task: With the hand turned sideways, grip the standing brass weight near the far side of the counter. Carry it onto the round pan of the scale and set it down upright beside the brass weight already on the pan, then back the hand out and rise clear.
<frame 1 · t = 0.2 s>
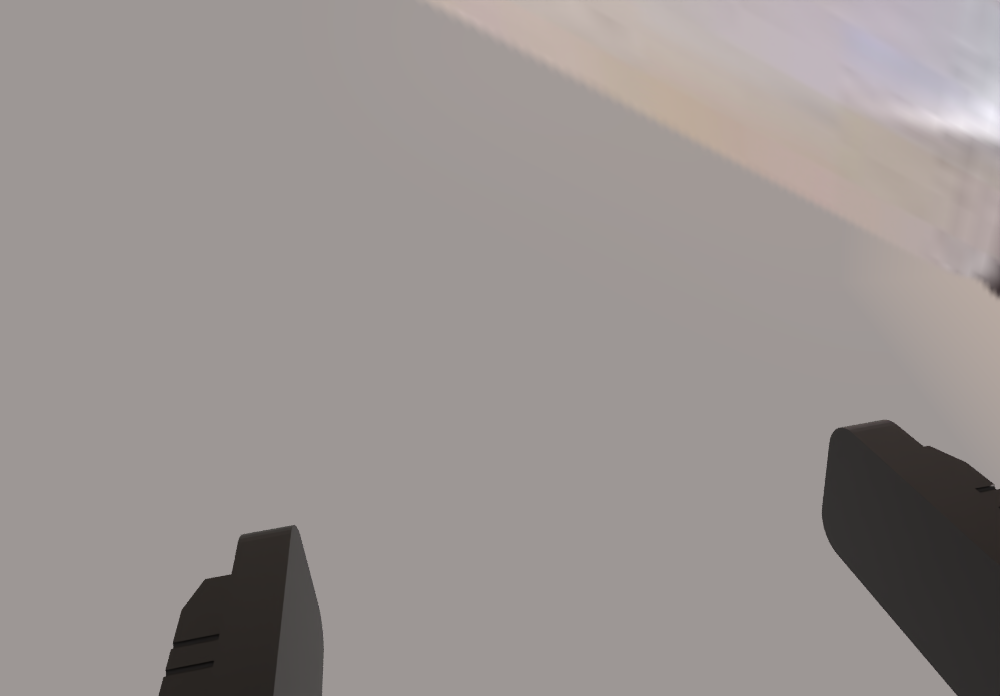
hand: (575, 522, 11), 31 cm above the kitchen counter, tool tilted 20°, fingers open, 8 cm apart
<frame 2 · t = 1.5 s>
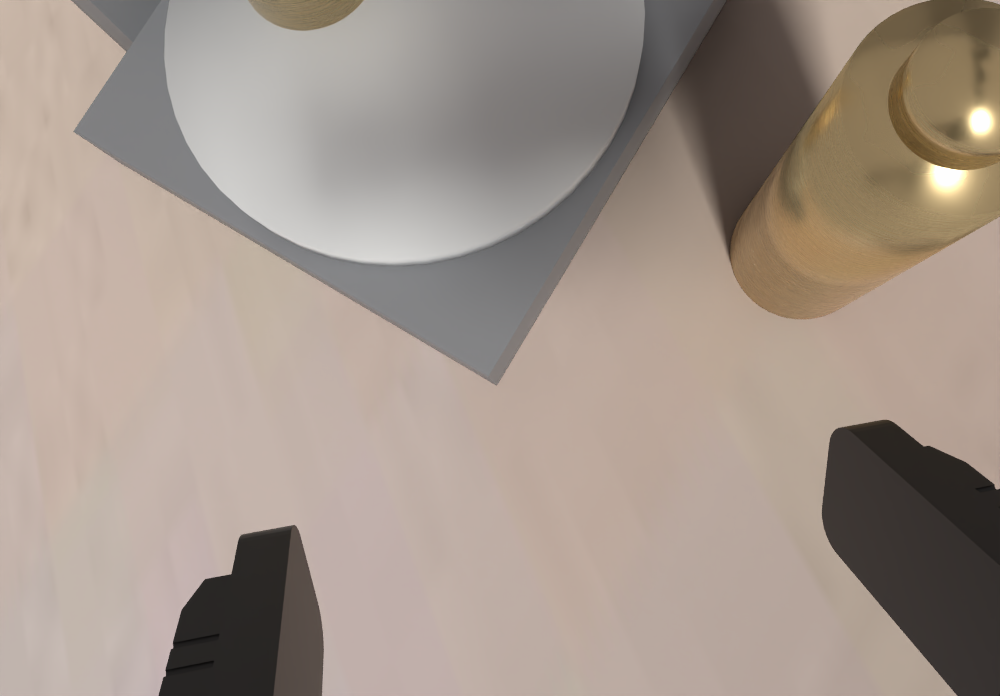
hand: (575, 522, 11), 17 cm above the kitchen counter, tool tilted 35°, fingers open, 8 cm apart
scale: (419, 78, 31), on the kitchen counter
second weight: (799, 252, 29), on the kitchen counter
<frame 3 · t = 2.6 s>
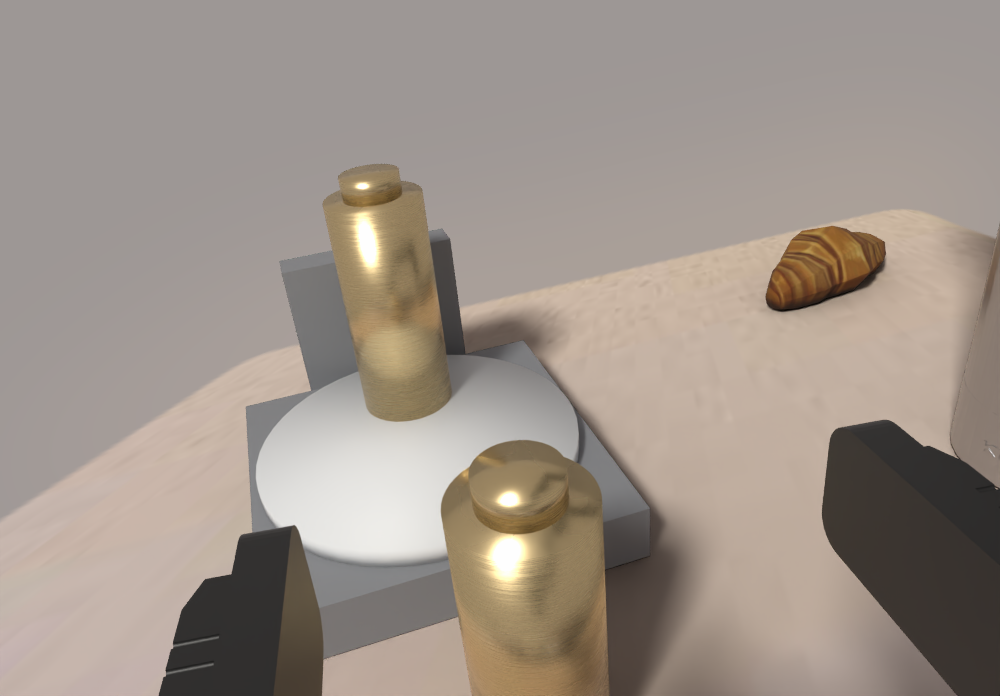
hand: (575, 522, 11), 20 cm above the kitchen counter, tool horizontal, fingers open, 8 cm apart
scale: (428, 493, 43), on the kitchen counter
croissant: (824, 288, 61), on the kitchen counter
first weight: (408, 396, 45), point 4 cm above the kitchen counter, touching scale
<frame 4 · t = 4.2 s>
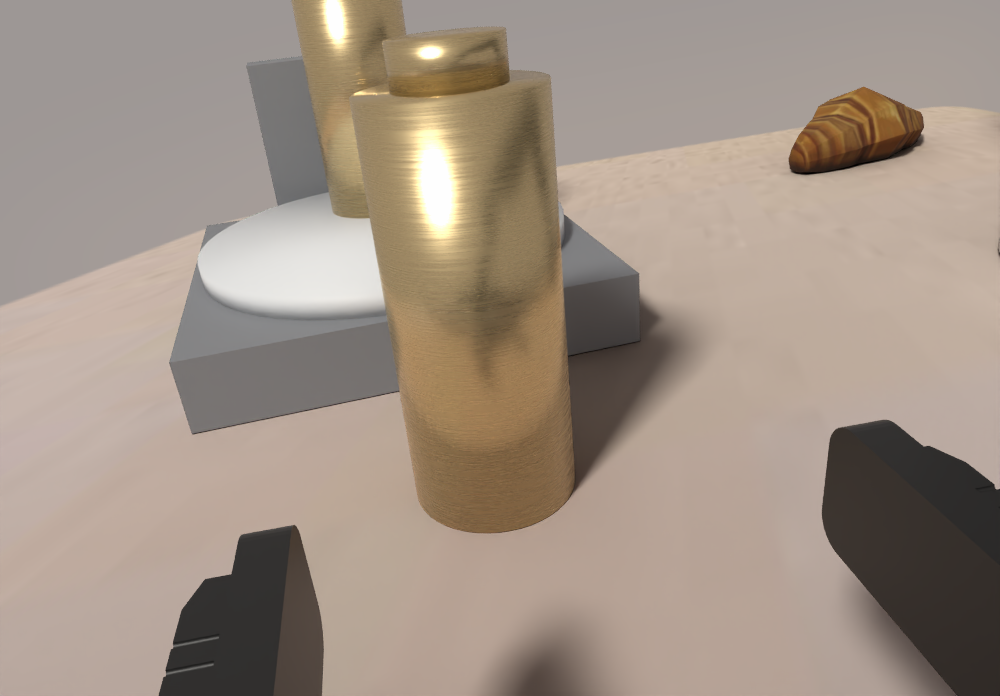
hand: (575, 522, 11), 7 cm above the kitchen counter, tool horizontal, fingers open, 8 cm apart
scale: (396, 303, 39), on the kitchen counter
croissant: (855, 162, 56), on the kitchen counter
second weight: (495, 480, 25), on the kitchen counter
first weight: (380, 203, 40), point 4 cm above the kitchen counter, touching scale
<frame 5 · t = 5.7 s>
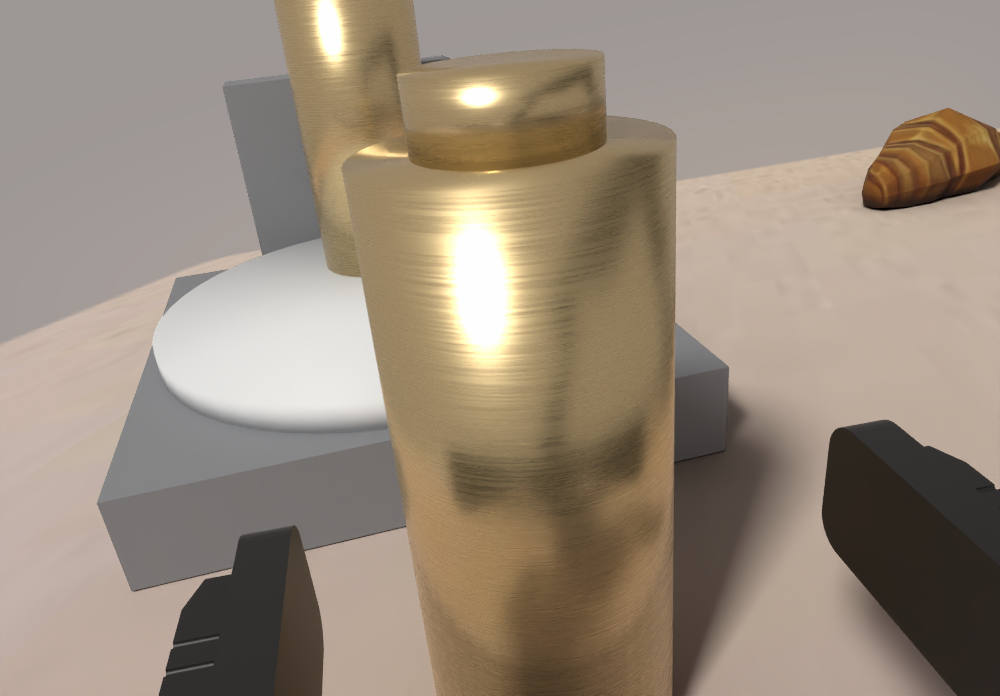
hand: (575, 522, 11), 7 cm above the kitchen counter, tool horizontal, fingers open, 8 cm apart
scale: (406, 381, 31), on the kitchen counter
croissant: (934, 194, 48), on the kitchen counter
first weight: (386, 255, 33), point 4 cm above the kitchen counter, touching scale
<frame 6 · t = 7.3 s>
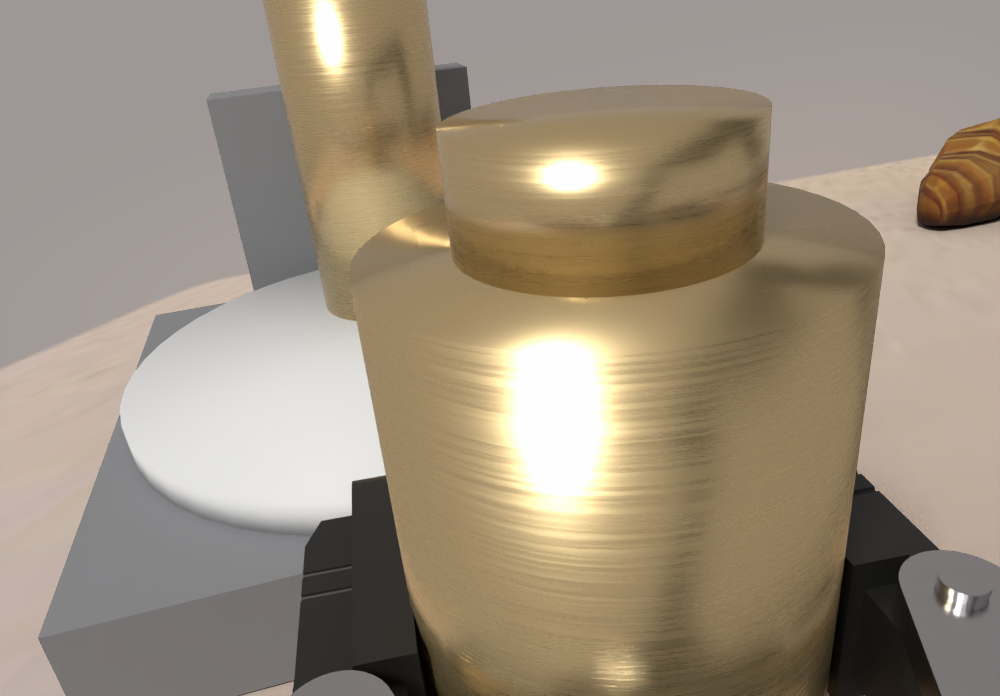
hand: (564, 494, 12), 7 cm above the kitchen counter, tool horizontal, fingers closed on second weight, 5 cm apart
scale: (417, 442, 27), on the kitchen counter
croissant: (992, 209, 44), on the kitchen counter
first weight: (394, 293, 29), point 4 cm above the kitchen counter, touching scale
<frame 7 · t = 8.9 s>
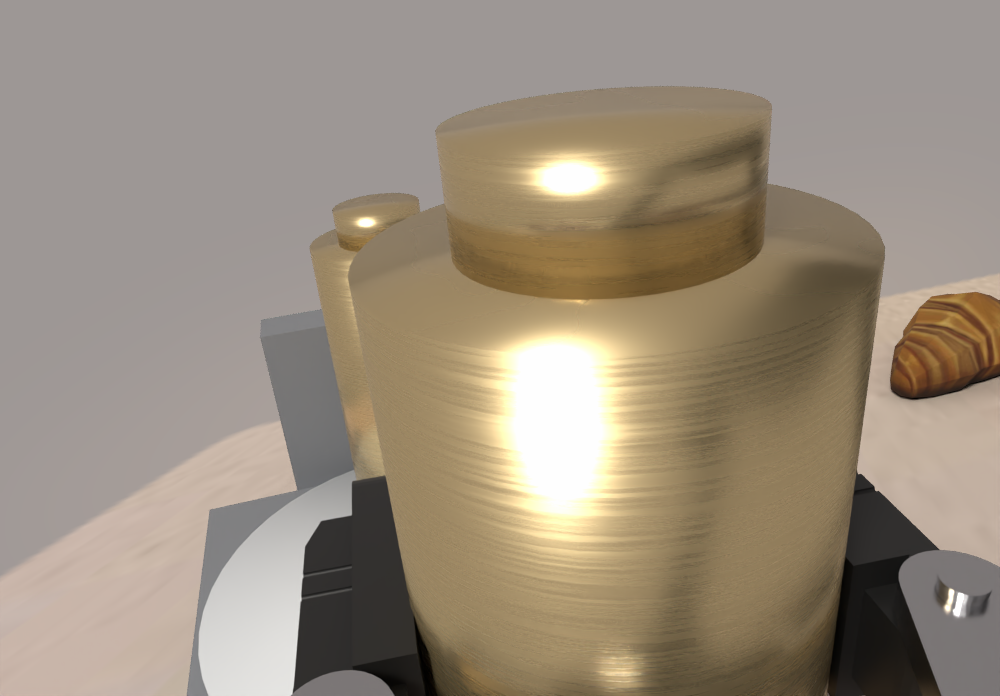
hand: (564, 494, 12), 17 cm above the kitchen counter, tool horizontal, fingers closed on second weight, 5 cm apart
scale: (445, 651, 31), on the kitchen counter
croissant: (960, 369, 48), on the kitchen counter
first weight: (424, 509, 33), point 4 cm above the kitchen counter, touching scale
when the fingers open (12 cm above the kitchen counter, at t = 11.9 s): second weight drops 1 cm, resting on scale.
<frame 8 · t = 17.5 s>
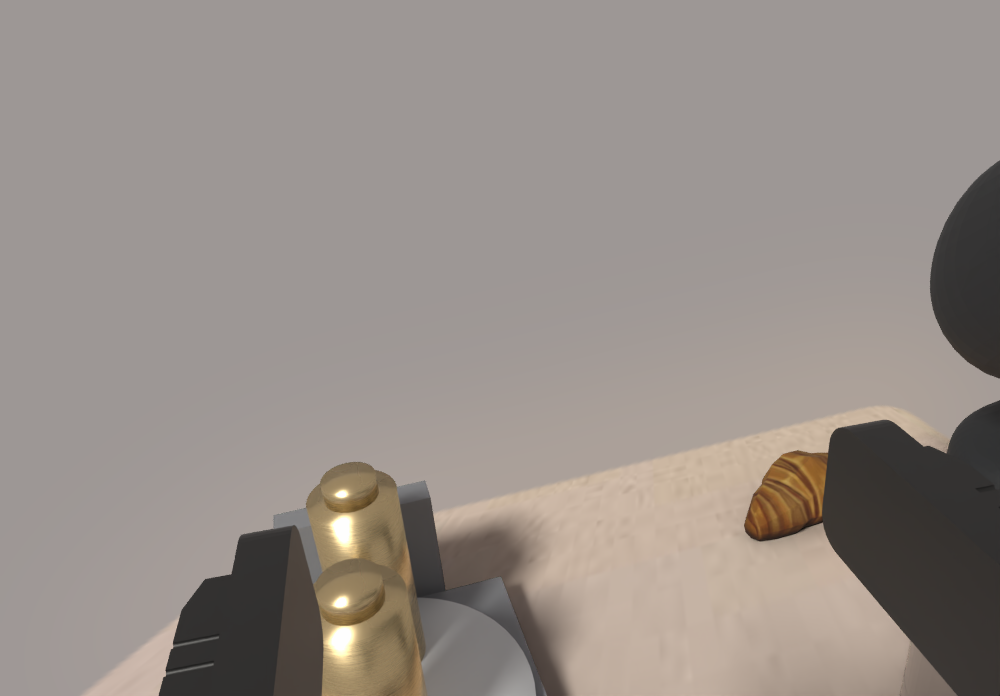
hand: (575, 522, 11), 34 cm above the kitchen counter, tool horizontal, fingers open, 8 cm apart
croissant: (804, 509, 63), on the kitchen counter
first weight: (385, 652, 48), point 4 cm above the kitchen counter, touching scale
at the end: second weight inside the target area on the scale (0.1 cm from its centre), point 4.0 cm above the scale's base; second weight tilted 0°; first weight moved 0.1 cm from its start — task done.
